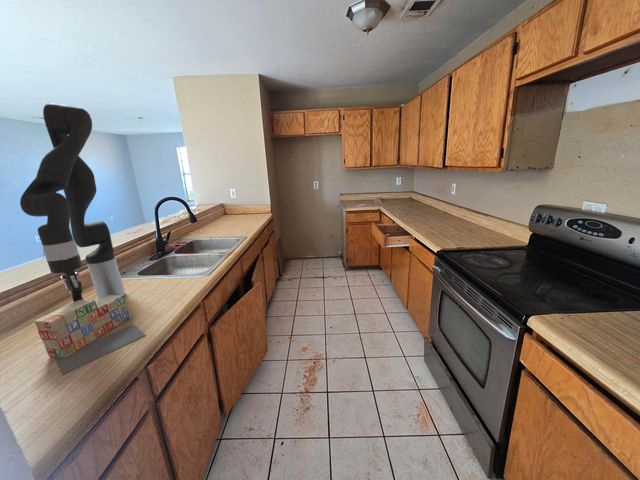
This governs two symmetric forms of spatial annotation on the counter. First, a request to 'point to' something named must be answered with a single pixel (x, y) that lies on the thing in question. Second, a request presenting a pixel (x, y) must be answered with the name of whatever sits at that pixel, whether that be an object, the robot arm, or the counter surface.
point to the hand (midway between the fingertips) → (79, 304)
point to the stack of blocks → (80, 324)
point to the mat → (99, 348)
